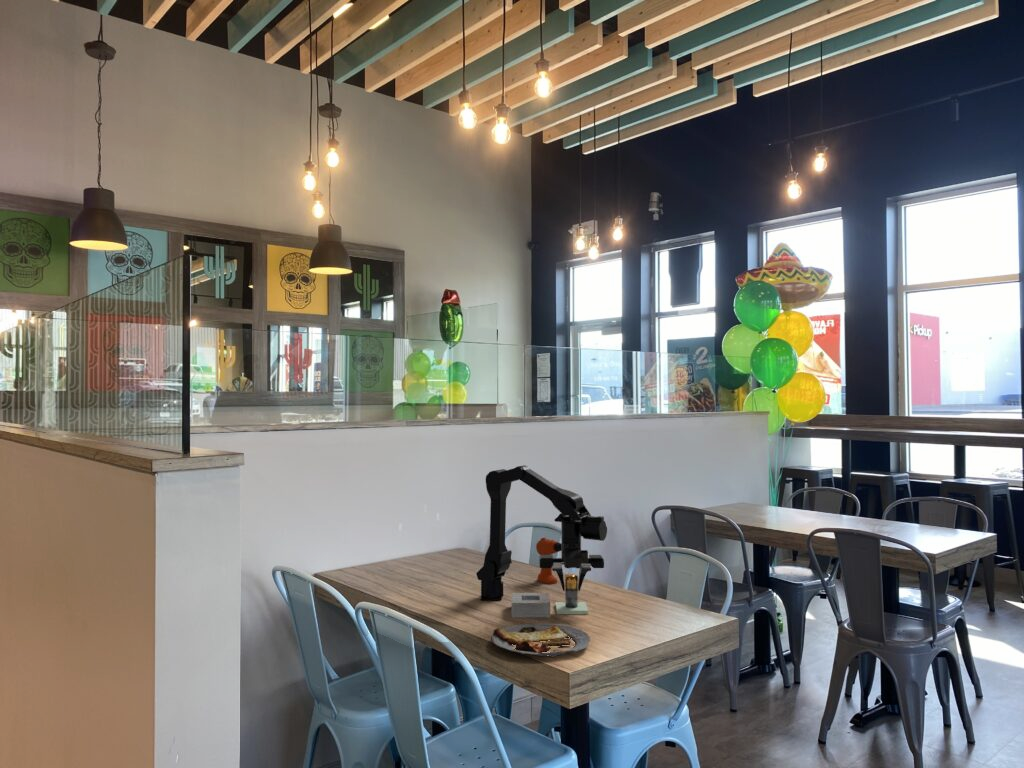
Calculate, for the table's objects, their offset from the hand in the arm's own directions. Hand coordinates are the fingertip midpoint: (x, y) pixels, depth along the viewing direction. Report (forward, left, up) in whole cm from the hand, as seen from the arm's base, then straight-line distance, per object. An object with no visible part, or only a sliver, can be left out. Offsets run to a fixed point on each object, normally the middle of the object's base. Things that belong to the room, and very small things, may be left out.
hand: (571, 590), depth 227 cm
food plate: (-10, -31, -6) cm, 33 cm away
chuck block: (-12, -2, -6) cm, 13 cm away
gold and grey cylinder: (0, 0, -4) cm, 5 cm away
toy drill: (-3, +30, -6) cm, 31 cm away
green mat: (0, 0, -6) cm, 6 cm away
